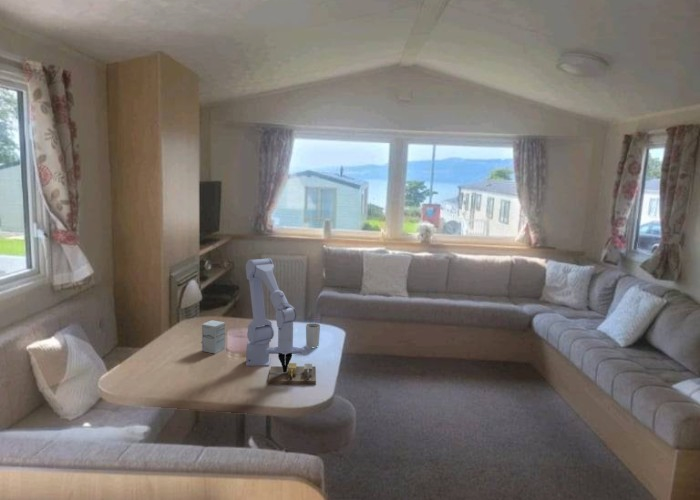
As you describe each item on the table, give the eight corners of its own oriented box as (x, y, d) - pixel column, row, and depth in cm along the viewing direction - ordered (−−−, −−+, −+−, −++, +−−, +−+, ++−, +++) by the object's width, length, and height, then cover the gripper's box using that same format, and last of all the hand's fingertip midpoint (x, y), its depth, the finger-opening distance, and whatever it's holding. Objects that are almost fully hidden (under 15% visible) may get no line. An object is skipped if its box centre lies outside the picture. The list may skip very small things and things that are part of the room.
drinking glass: (317, 349, 221) (318, 328, 219) (303, 347, 222) (304, 326, 221) (321, 344, 227) (321, 323, 226) (307, 342, 229) (308, 322, 227)
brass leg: (287, 379, 183) (287, 371, 183) (288, 370, 192) (288, 363, 191) (295, 379, 184) (295, 371, 183) (296, 370, 192) (296, 363, 191)
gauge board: (268, 384, 182) (268, 373, 181) (270, 369, 196) (271, 359, 195) (315, 384, 183) (316, 373, 183) (315, 369, 197) (315, 359, 197)
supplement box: (201, 351, 213) (201, 324, 211) (212, 346, 220) (211, 319, 218) (215, 354, 210) (215, 326, 208) (225, 349, 217) (225, 321, 215)
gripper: (265, 341, 182) (265, 375, 184) (304, 341, 184) (303, 375, 186) (267, 335, 189) (267, 368, 191) (304, 335, 191) (303, 368, 193)
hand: (285, 371), depth 189 cm, fingers closed
